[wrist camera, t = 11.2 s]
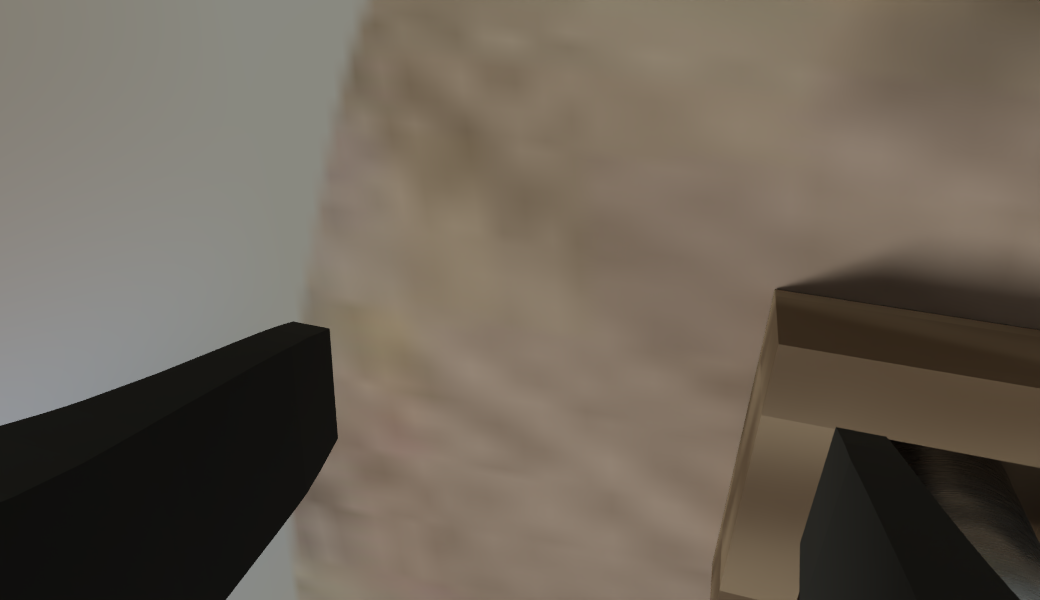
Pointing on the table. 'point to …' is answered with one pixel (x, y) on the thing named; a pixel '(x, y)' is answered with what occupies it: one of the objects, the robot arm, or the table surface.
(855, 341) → the socket block
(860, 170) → the table surface
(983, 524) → the grey cylinder
